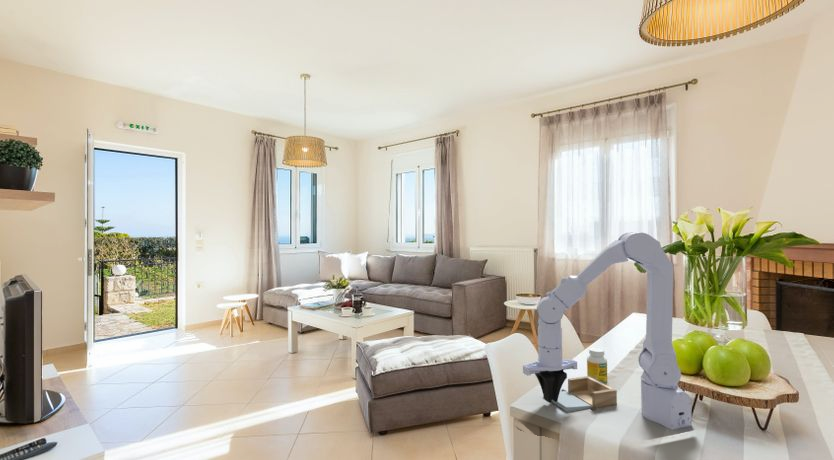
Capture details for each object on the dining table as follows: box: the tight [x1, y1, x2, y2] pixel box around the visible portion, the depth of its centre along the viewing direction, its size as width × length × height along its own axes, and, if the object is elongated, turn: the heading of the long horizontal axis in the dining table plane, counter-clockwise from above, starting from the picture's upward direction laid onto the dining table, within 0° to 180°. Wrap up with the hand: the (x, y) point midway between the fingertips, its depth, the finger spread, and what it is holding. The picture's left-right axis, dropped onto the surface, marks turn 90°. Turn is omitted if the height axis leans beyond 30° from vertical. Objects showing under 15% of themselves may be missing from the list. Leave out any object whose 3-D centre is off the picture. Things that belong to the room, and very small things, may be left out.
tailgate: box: [551, 390, 591, 413], centre depth 97 cm, size 9×1×7 cm
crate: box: [560, 375, 618, 411], centre depth 99 cm, size 12×8×4 cm
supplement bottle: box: [586, 347, 608, 384], centre depth 112 cm, size 5×5×10 cm
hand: (550, 400), depth 96 cm, fingers closed
